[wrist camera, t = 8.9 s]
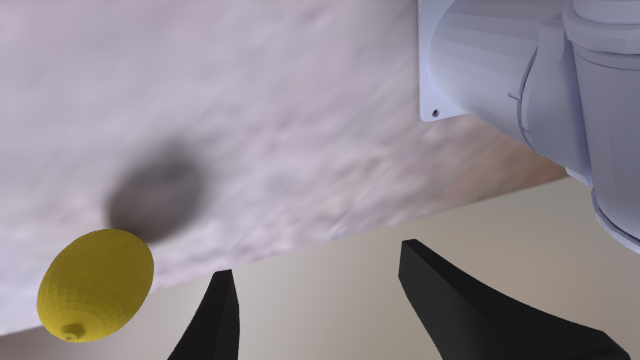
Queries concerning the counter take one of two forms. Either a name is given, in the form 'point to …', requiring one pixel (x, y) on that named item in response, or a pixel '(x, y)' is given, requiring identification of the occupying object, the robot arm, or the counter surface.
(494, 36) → the robot arm
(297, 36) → the counter surface
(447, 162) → the counter surface
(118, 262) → the lemon
